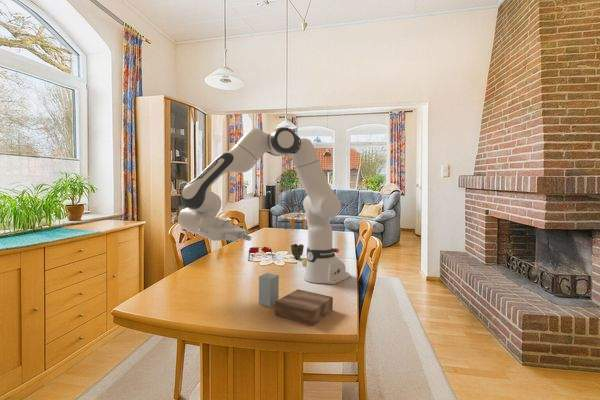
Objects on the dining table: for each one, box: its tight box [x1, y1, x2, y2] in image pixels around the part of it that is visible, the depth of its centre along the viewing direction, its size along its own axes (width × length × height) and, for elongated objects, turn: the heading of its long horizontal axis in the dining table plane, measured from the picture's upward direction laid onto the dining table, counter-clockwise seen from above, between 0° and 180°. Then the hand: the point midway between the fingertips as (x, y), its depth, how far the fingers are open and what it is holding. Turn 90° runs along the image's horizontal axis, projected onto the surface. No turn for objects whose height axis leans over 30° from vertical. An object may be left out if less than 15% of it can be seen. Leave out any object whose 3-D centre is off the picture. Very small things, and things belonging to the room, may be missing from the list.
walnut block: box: [274, 288, 334, 327], centre depth 103 cm, size 14×14×5 cm
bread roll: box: [301, 258, 307, 267], centre depth 163 cm, size 8×9×4 cm
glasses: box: [247, 246, 274, 261], centre depth 179 cm, size 14×16×5 cm
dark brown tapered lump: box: [290, 243, 305, 259], centre depth 177 cm, size 8×7×8 cm
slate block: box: [258, 272, 280, 308], centre depth 111 cm, size 5×5×10 cm
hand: (243, 239), depth 115 cm, fingers open, 8 cm apart
